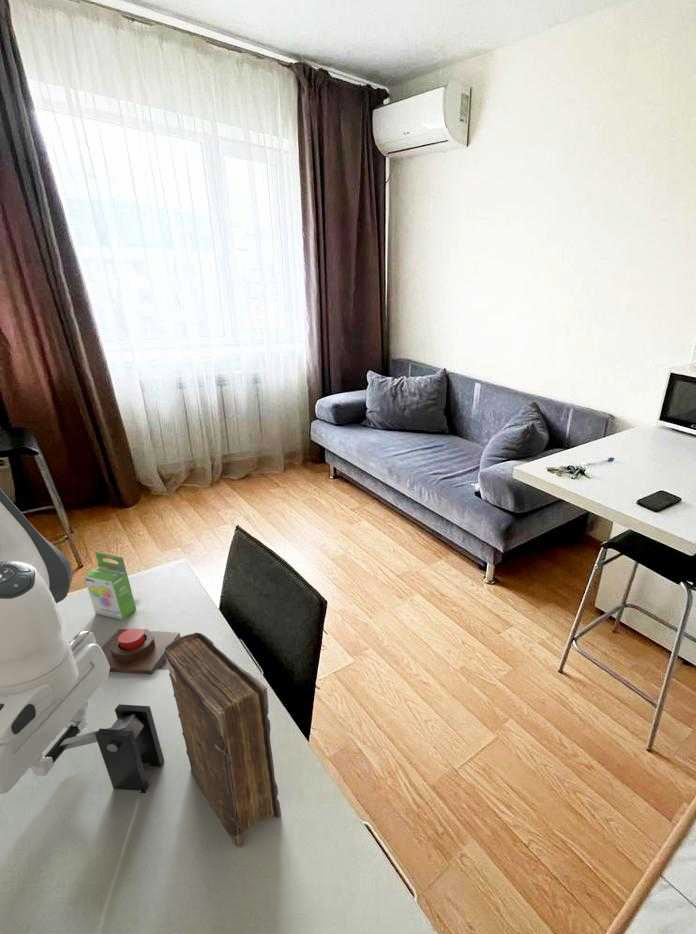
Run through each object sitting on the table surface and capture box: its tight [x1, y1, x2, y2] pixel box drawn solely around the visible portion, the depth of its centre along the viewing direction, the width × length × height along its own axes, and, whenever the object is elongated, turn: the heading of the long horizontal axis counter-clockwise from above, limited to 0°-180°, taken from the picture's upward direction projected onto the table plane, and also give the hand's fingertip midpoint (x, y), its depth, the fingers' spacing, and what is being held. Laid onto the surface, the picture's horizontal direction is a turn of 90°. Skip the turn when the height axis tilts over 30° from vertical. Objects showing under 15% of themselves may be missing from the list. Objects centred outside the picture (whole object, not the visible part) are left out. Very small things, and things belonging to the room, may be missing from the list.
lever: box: [43, 715, 144, 764], centre depth 69 cm, size 13×5×2 cm, turn 89°
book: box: [164, 632, 282, 849], centre depth 66 cm, size 17×7×25 cm, turn 45°
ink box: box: [83, 551, 137, 621], centre depth 102 cm, size 7×4×13 cm, turn 76°
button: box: [118, 627, 145, 650], centre depth 92 cm, size 4×4×2 cm
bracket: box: [95, 703, 165, 794], centre depth 70 cm, size 12×9×13 cm
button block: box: [101, 628, 182, 675], centre depth 93 cm, size 12×10×4 cm
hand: (61, 749), depth 70 cm, fingers closed on lever, 5 cm apart
